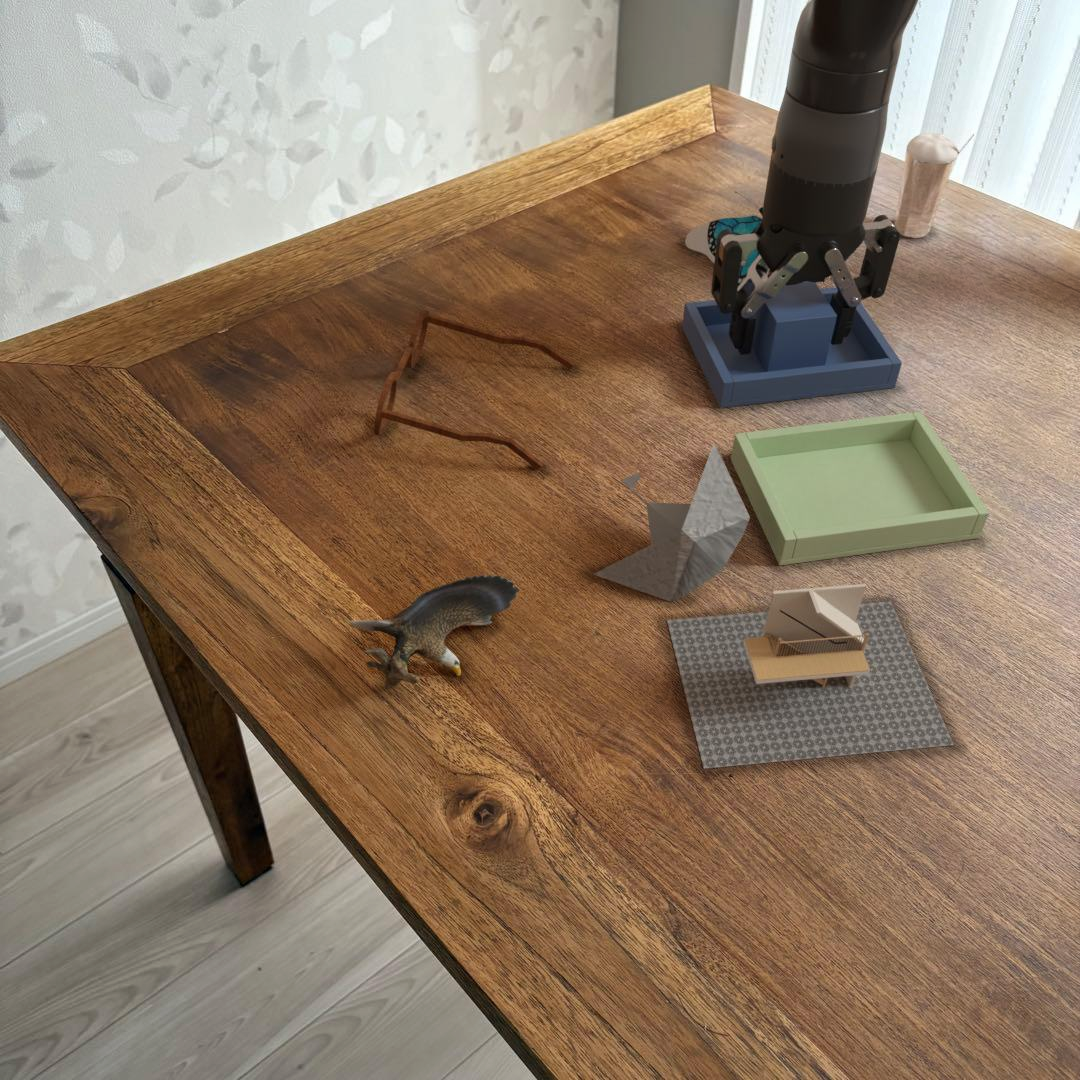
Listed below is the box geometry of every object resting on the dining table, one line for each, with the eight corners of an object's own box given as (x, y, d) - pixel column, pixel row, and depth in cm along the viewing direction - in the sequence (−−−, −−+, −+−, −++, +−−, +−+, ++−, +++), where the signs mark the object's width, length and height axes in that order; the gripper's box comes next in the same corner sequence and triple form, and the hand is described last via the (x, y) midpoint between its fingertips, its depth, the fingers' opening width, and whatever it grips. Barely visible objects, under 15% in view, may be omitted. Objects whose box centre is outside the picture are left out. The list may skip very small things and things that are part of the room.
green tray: (913, 436, 85) (921, 410, 83) (979, 538, 77) (990, 512, 75) (730, 459, 83) (734, 433, 81) (779, 565, 75) (785, 540, 74)
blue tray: (843, 310, 97) (849, 285, 95) (895, 388, 89) (902, 362, 87) (681, 327, 95) (684, 302, 93) (719, 408, 87) (723, 383, 85)
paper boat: (654, 632, 70) (551, 536, 72) (664, 641, 76) (569, 552, 78) (785, 492, 70) (677, 400, 72) (784, 512, 76) (685, 427, 78)
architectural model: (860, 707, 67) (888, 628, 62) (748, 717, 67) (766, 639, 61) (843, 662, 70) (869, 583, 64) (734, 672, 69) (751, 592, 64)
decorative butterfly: (733, 266, 94) (695, 184, 99) (717, 317, 100) (682, 238, 104) (842, 250, 96) (800, 170, 101) (820, 301, 102) (782, 224, 106)
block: (804, 331, 94) (814, 280, 90) (825, 367, 90) (837, 315, 87) (747, 338, 93) (755, 286, 89) (766, 373, 89) (776, 321, 86)
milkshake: (941, 247, 104) (971, 145, 97) (883, 237, 105) (909, 135, 98) (946, 224, 107) (976, 123, 100) (890, 214, 108) (915, 114, 101)
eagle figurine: (455, 727, 65) (545, 615, 68) (382, 645, 61) (480, 532, 65) (388, 707, 71) (474, 605, 74) (319, 630, 67) (412, 528, 71)
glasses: (420, 348, 93) (416, 296, 89) (574, 367, 91) (576, 316, 87) (372, 449, 84) (365, 397, 80) (542, 473, 82) (542, 421, 78)
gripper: (745, 188, 76) (716, 381, 88) (941, 170, 78) (888, 361, 89) (713, 138, 81) (690, 326, 93) (898, 122, 83) (853, 309, 95)
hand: (787, 343), depth 91 cm, fingers open, 7 cm apart
